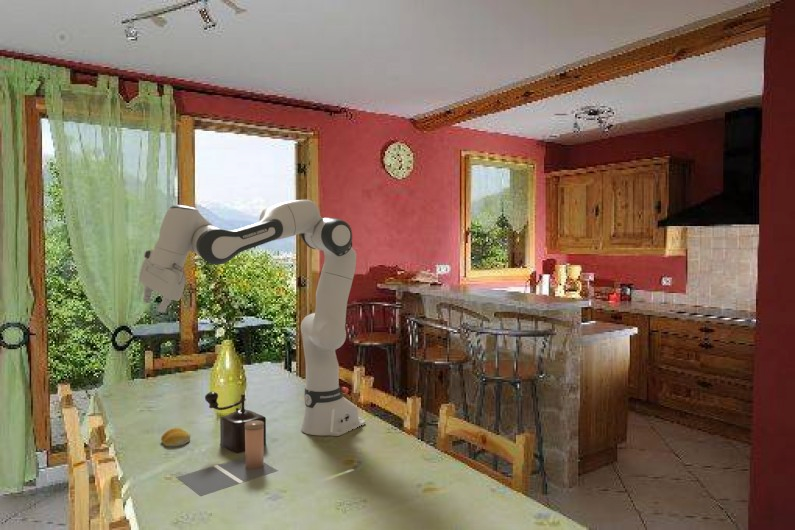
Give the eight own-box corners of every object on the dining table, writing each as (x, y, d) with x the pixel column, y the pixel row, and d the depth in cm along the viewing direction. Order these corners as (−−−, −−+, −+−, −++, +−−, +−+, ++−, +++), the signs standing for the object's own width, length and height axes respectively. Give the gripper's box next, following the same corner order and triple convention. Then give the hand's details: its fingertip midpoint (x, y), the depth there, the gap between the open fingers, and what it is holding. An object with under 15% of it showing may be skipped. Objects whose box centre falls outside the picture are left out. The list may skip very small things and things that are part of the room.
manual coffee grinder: (247, 437, 177) (247, 382, 176) (267, 446, 169) (266, 389, 168) (202, 450, 165) (202, 392, 165) (221, 460, 158) (220, 399, 157)
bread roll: (167, 449, 166) (167, 436, 166) (158, 441, 173) (158, 429, 173) (194, 443, 172) (194, 430, 172) (184, 435, 178) (184, 423, 178)
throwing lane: (250, 457, 160) (250, 455, 160) (278, 472, 150) (278, 470, 150) (176, 479, 145) (176, 476, 145) (200, 498, 134) (200, 495, 134)
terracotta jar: (258, 460, 157) (257, 419, 156) (267, 465, 153) (267, 423, 152) (241, 465, 153) (241, 423, 152) (250, 471, 149) (250, 427, 149)
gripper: (195, 271, 149) (180, 319, 149) (163, 254, 162) (149, 298, 162) (174, 266, 144) (158, 316, 144) (142, 249, 157) (128, 295, 158)
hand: (153, 306), depth 153 cm, fingers open, 8 cm apart
